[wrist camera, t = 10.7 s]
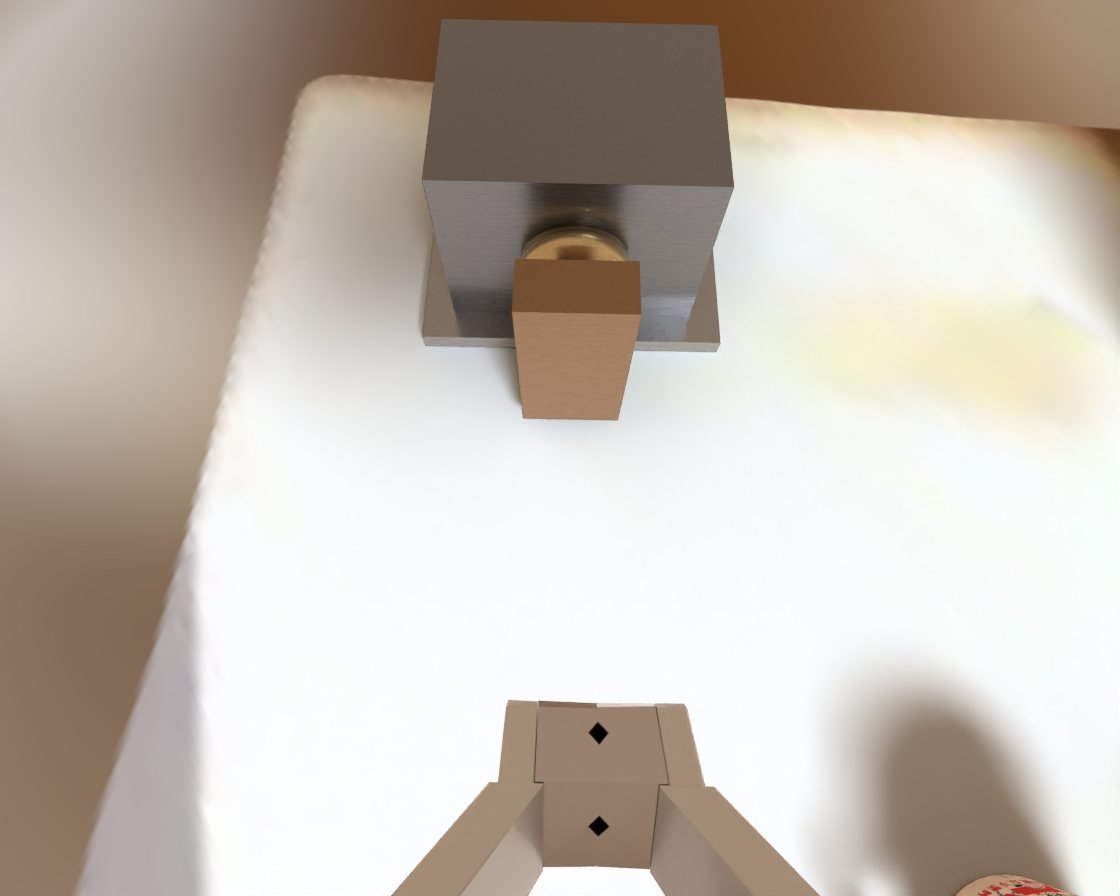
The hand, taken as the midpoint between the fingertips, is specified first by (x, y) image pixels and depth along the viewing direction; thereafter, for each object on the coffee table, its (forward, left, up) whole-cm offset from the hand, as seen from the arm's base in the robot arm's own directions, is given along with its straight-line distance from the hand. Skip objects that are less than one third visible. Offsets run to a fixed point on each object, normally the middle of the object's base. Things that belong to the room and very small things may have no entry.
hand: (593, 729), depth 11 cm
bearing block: (-13, -28, -27) cm, 42 cm away
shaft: (-12, -25, -26) cm, 38 cm away
